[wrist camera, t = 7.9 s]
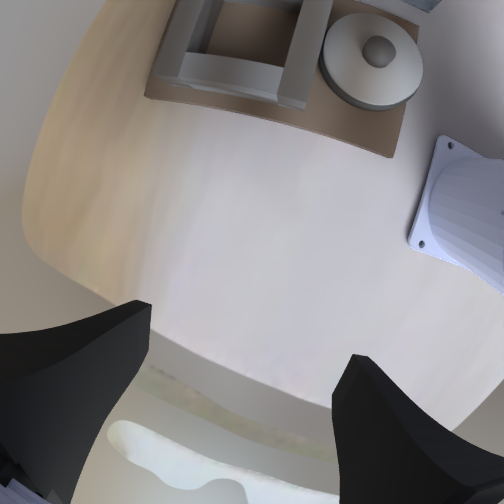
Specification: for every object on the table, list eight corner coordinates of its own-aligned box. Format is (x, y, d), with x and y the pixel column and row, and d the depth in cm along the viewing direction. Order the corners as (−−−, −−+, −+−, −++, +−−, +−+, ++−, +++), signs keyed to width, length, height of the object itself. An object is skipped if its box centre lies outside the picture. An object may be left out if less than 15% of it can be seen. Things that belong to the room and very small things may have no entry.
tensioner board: (413, 31, 14) (439, 6, 10) (387, 158, 17) (415, 158, 13) (191, -19, 14) (171, -50, 10) (149, 98, 18) (115, 85, 13)
